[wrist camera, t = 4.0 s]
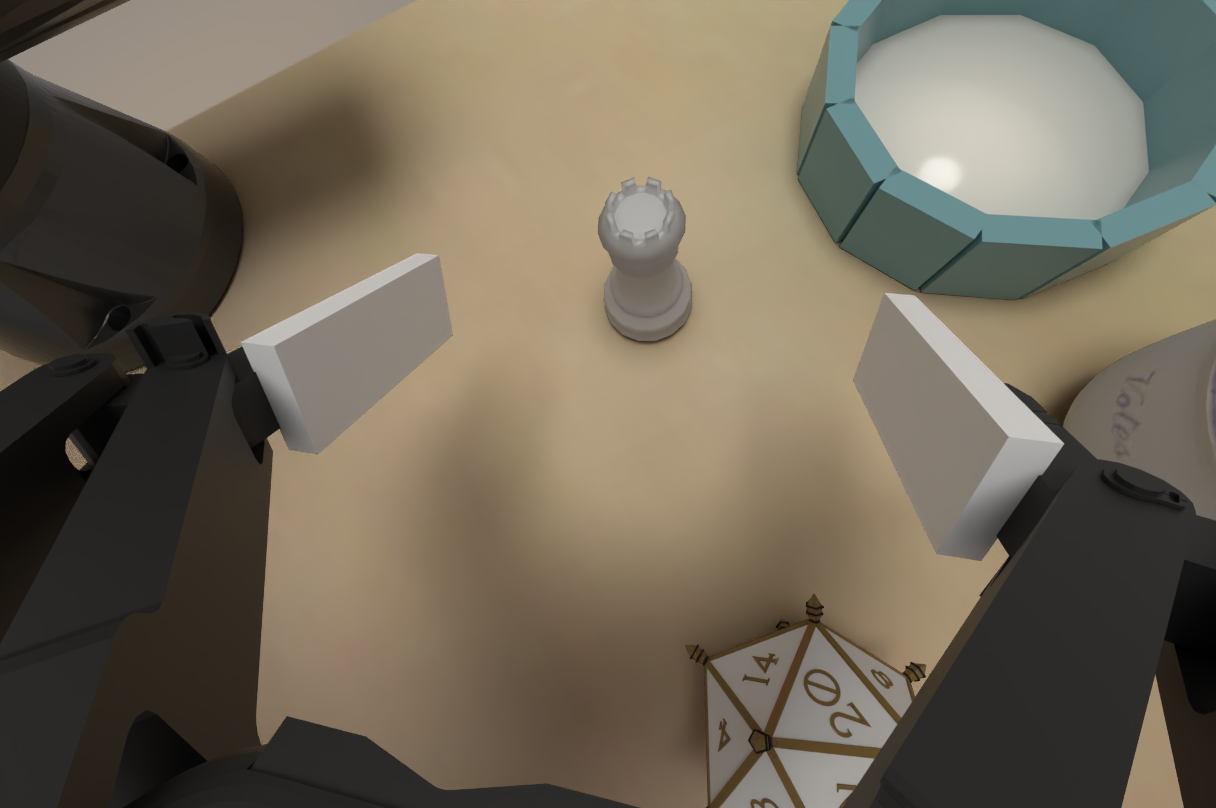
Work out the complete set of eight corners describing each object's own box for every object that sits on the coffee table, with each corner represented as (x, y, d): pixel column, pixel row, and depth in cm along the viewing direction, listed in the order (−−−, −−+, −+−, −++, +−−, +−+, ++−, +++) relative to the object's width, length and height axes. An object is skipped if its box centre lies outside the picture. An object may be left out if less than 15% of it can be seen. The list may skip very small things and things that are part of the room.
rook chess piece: (683, 256, 24) (691, 141, 17) (699, 336, 23) (716, 252, 16) (599, 272, 25) (569, 167, 17) (612, 352, 24) (585, 278, 16)
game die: (724, 657, 24) (603, 624, 17) (892, 594, 21) (821, 526, 14) (805, 917, 17) (664, 1016, 11) (1060, 881, 14) (1070, 990, 8)
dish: (788, 282, 23) (816, 231, 19) (809, 16, 26) (838, -81, 22) (1167, 311, 21) (1299, 261, 17) (1142, 15, 24) (1247, -94, 20)
